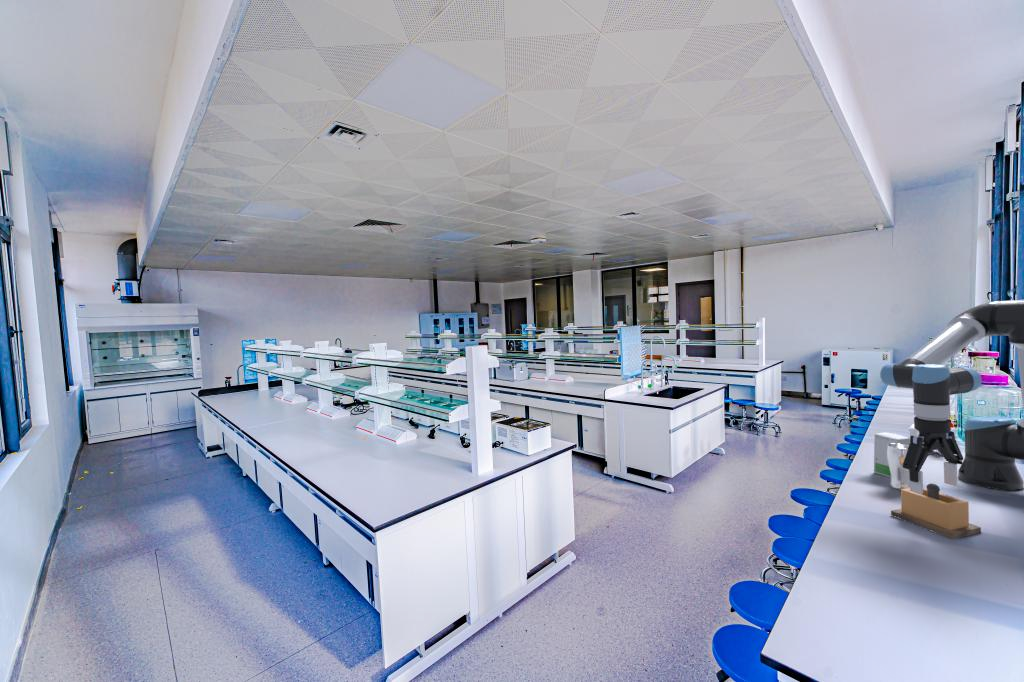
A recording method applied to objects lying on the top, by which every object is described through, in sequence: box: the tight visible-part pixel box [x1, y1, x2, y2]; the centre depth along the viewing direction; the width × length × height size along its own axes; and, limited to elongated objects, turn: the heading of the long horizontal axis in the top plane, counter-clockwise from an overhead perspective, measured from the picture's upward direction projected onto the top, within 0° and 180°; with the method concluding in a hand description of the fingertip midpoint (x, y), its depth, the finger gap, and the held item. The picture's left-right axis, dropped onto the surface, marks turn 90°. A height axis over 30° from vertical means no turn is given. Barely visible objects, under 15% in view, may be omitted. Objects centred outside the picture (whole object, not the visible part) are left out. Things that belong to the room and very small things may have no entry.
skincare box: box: [873, 431, 910, 479], centre depth 157 cm, size 8×7×16 cm
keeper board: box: [890, 483, 982, 540], centre depth 121 cm, size 11×15×12 cm
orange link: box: [900, 487, 970, 530], centre depth 121 cm, size 12×7×7 cm, turn 13°
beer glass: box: [887, 443, 910, 491], centre depth 146 cm, size 7×7×15 cm
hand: (934, 488), depth 121 cm, fingers open, 13 cm apart
